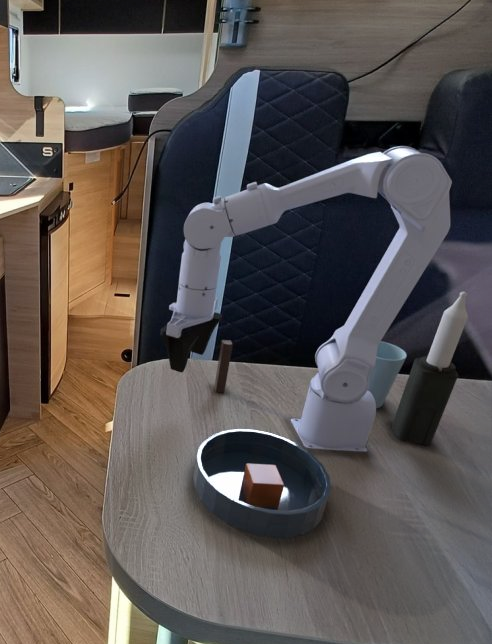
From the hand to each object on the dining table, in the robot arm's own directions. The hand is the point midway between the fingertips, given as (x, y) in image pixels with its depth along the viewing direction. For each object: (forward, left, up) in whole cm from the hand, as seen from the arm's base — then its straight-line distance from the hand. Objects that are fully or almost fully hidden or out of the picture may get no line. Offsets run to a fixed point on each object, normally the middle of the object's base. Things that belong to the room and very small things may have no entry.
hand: (187, 361), depth 86 cm
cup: (-34, -7, -10) cm, 36 cm away
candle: (-37, +3, -10) cm, 38 cm away
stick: (-8, -8, -10) cm, 15 cm away
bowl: (-8, +19, -10) cm, 23 cm away
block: (-8, +21, -9) cm, 24 cm away
